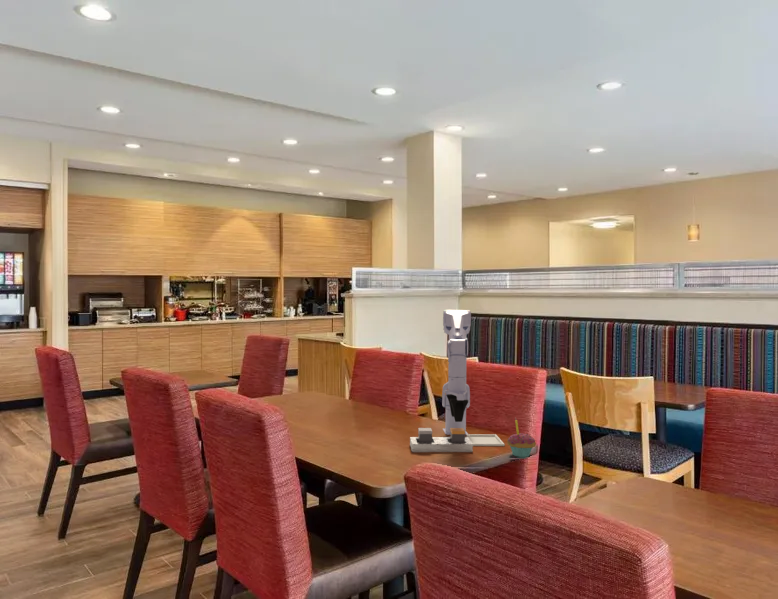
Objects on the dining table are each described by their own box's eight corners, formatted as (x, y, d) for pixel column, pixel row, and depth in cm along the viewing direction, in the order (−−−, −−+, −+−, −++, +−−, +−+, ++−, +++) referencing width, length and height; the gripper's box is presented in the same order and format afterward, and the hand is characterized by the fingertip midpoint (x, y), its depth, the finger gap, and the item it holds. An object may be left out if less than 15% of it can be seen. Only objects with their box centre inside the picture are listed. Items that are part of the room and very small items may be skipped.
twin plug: (418, 446, 197) (418, 427, 197) (430, 446, 197) (430, 427, 197) (419, 449, 193) (419, 430, 193) (432, 450, 193) (432, 430, 193)
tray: (466, 437, 211) (466, 434, 211) (496, 437, 212) (496, 434, 212) (472, 447, 198) (472, 444, 198) (504, 447, 198) (504, 444, 198)
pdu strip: (409, 446, 199) (410, 437, 199) (467, 446, 200) (468, 437, 200) (411, 453, 190) (411, 444, 190) (472, 453, 191) (472, 444, 191)
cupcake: (514, 461, 183) (515, 421, 183) (502, 453, 191) (502, 415, 191) (540, 459, 185) (541, 419, 185) (527, 452, 193) (527, 414, 193)
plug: (450, 446, 197) (450, 428, 197) (462, 446, 197) (463, 428, 197) (451, 450, 193) (452, 430, 193) (464, 450, 193) (465, 430, 193)
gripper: (442, 373, 202) (441, 414, 202) (447, 379, 187) (447, 423, 188) (463, 373, 202) (462, 414, 202) (470, 379, 188) (470, 424, 188)
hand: (456, 419), depth 195 cm, fingers open, 7 cm apart
